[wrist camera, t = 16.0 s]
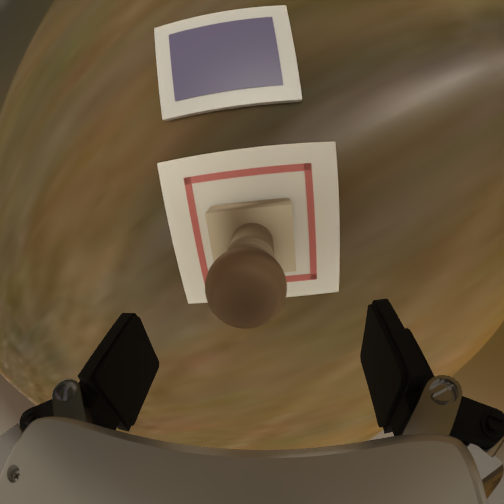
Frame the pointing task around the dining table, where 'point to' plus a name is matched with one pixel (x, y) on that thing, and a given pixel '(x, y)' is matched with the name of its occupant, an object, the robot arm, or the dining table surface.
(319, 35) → the dining table surface
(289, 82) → the ink pad
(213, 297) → the stamp
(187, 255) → the paper sheet
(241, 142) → the dining table surface
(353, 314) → the dining table surface
